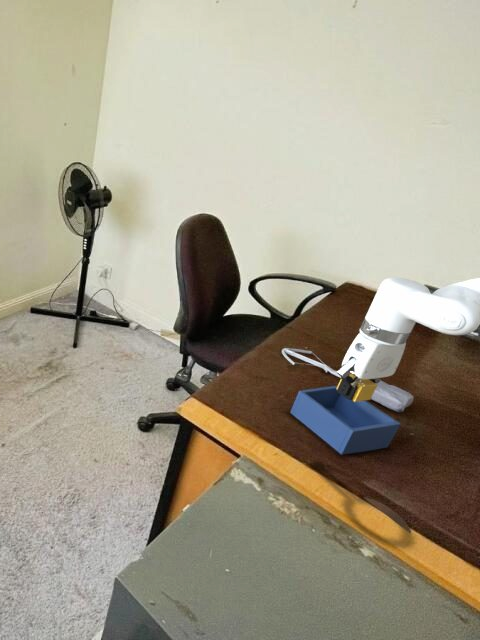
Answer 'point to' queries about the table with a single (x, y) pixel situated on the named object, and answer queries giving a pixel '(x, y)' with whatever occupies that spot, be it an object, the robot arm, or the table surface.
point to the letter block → (363, 389)
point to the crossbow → (306, 359)
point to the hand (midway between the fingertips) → (353, 393)
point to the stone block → (392, 397)
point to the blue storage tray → (344, 420)
